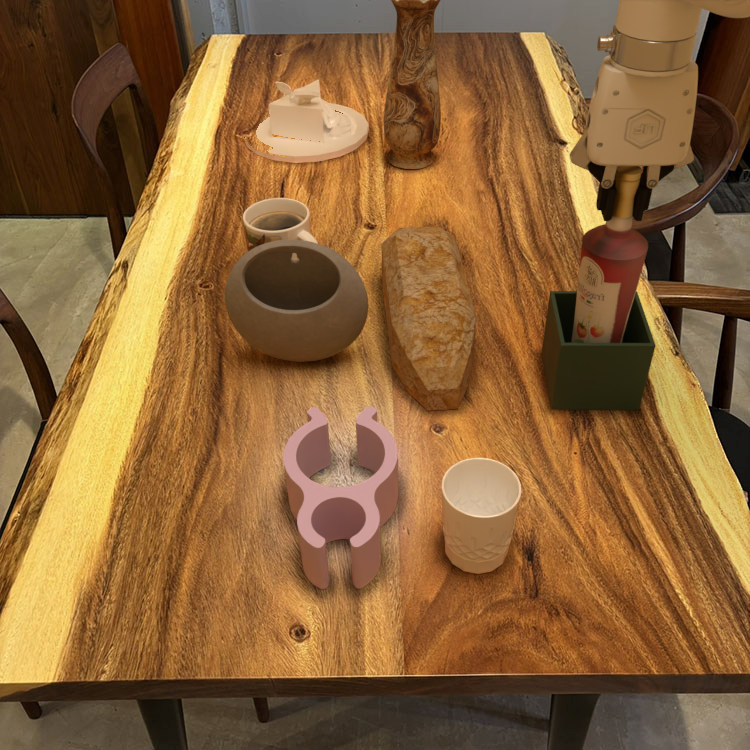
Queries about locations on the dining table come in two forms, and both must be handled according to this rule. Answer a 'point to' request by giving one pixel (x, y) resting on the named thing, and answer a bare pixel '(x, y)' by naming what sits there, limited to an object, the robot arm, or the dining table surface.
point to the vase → (413, 87)
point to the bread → (428, 315)
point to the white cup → (479, 513)
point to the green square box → (594, 361)
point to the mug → (277, 222)
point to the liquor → (610, 268)
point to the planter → (296, 300)
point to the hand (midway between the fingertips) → (620, 213)
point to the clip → (341, 496)
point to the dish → (309, 127)
